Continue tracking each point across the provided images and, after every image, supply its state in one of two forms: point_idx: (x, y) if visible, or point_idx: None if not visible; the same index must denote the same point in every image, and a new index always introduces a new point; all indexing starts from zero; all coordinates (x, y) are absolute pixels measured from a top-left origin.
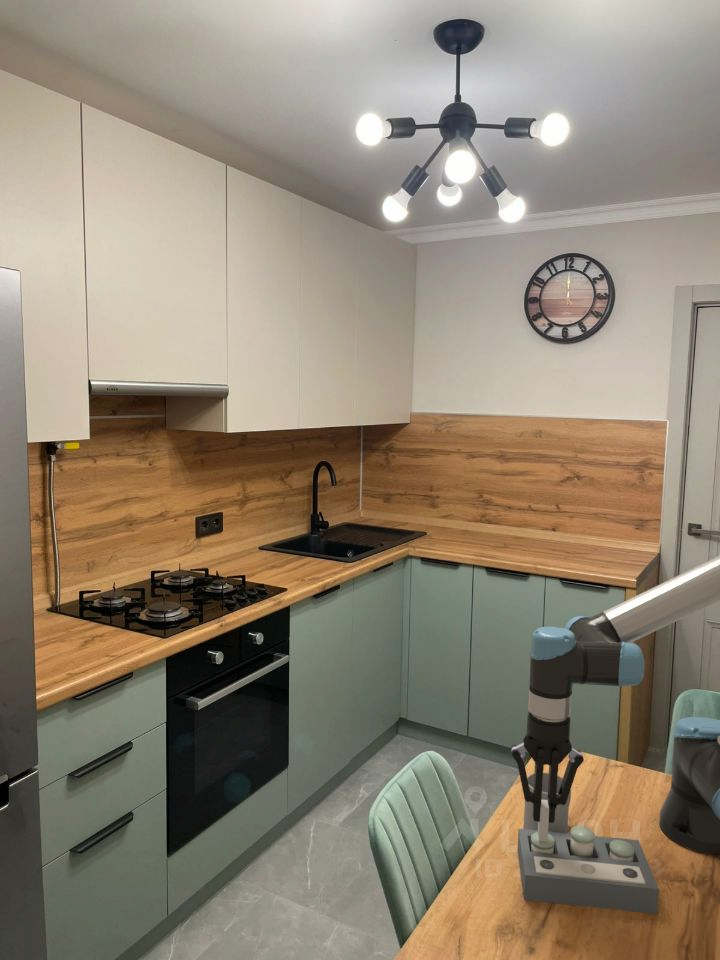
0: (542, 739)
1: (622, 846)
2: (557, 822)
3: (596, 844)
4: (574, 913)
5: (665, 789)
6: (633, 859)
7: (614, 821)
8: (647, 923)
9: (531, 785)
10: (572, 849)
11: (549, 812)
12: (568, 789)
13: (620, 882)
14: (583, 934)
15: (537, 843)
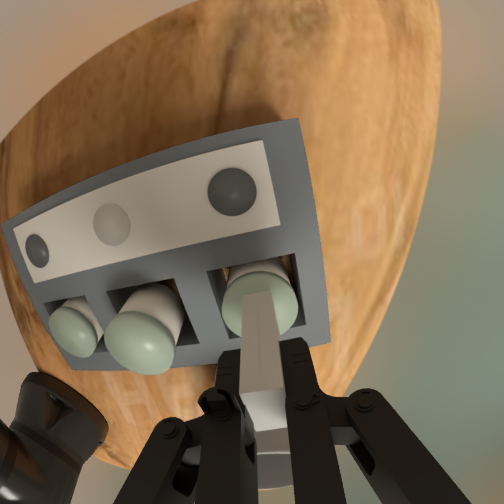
0: None
1: (69, 336)
2: None
3: None
4: (159, 125)
5: (128, 460)
6: None
7: (156, 420)
8: (40, 174)
9: None
10: (171, 305)
11: (239, 381)
12: (131, 488)
13: (46, 210)
14: (138, 69)
15: (275, 280)
